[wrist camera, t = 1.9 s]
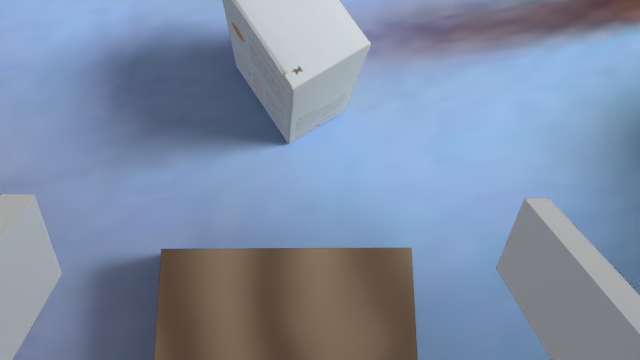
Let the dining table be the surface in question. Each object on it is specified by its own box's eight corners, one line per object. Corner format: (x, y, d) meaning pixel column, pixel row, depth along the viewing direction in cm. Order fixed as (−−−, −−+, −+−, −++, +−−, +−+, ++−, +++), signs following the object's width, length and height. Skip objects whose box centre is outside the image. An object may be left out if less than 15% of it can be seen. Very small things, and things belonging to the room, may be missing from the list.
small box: (345, 112, 35) (375, 45, 24) (287, 146, 34) (293, 92, 23) (292, 34, 36) (299, -62, 25) (233, 65, 34) (217, -22, 24)
